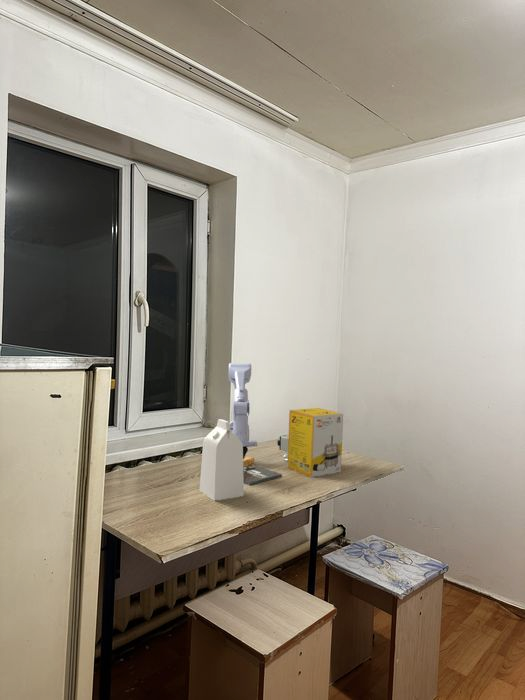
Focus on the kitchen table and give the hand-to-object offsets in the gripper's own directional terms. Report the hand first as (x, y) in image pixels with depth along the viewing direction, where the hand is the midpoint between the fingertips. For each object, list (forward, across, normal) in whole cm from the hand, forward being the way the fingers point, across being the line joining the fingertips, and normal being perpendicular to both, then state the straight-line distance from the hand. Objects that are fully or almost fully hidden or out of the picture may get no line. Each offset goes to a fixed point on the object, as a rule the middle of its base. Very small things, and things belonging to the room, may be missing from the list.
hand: (239, 465), depth 188 cm
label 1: (+5, +6, 0) cm, 8 cm away
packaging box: (+5, +34, -1) cm, 35 cm away
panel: (+5, +5, +1) cm, 7 cm away
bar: (+2, +3, +5) cm, 6 cm away
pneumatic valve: (+5, +32, +15) cm, 35 cm away
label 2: (+4, +7, -6) cm, 10 cm away
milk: (+5, -13, -16) cm, 21 cm away
